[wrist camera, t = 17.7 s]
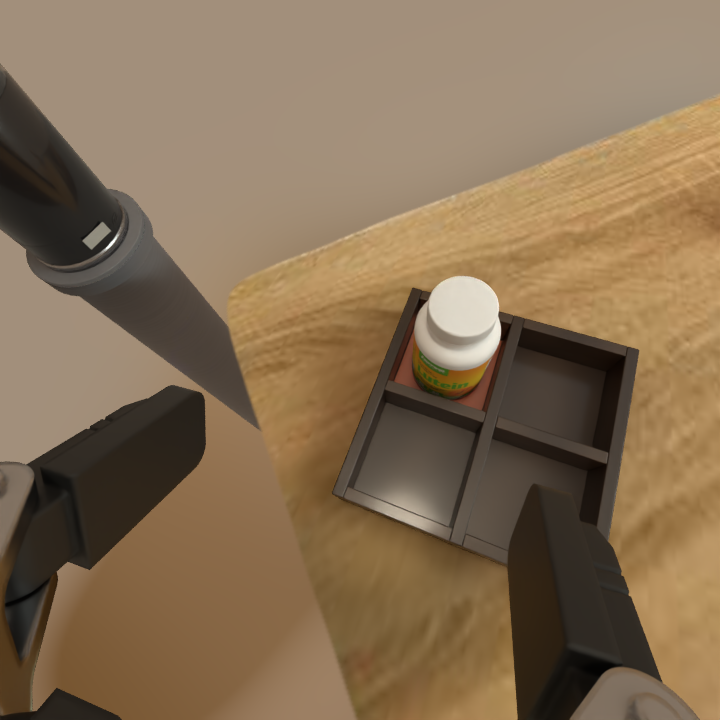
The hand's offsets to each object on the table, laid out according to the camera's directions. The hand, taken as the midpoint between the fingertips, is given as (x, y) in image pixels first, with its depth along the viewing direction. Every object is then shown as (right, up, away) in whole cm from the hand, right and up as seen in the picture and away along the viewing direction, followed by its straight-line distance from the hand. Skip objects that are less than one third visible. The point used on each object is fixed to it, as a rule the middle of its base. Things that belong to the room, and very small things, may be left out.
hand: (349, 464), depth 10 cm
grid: (+9, -3, +21) cm, 23 cm away
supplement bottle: (+7, +2, +23) cm, 24 cm away
